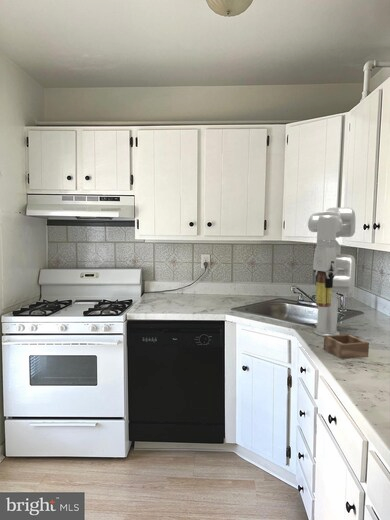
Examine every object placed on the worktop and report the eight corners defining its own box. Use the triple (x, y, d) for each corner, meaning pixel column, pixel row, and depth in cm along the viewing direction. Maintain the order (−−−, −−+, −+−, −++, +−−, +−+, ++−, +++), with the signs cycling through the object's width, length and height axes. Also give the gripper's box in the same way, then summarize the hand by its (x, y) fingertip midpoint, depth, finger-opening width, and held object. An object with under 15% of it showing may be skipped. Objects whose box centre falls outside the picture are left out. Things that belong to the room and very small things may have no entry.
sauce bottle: (327, 304, 162) (329, 259, 160) (333, 307, 156) (335, 260, 154) (312, 304, 162) (314, 259, 160) (318, 307, 156) (320, 260, 154)
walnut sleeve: (323, 348, 167) (324, 335, 167) (348, 346, 171) (349, 334, 170) (341, 359, 155) (342, 345, 154) (368, 356, 158) (369, 343, 158)
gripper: (306, 243, 164) (304, 283, 165) (331, 245, 147) (328, 290, 149) (321, 243, 166) (319, 283, 168) (347, 245, 149) (344, 289, 151)
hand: (323, 286), depth 158 cm, fingers closed on sauce bottle, 6 cm apart
